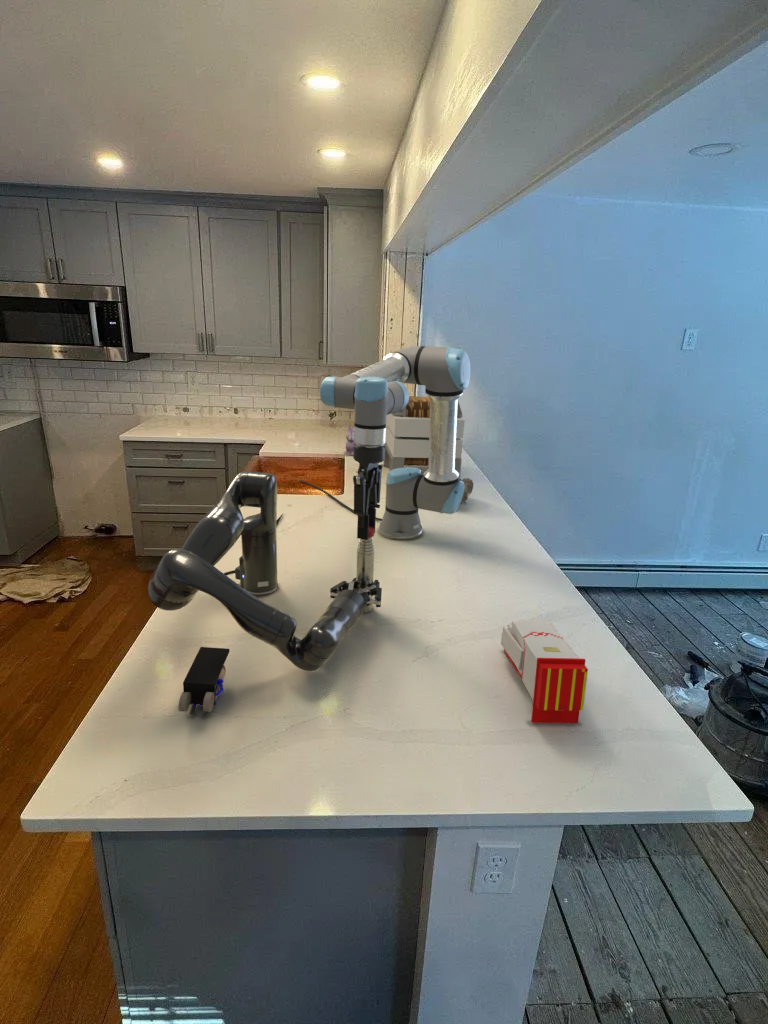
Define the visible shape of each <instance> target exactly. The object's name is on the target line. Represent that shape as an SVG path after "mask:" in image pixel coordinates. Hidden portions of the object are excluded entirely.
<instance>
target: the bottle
mask: <svg viewBox="0 0 768 1024" xmlns="http://www.w3.org/2000/svg"><path fill="white" fill-rule="evenodd" d="M372 538H373V537H371V538H368V540H364V539H359V541H358V545H357V549H356V574H355V575H356V577H355V578H356V589H358V590H362V589H364V588H366V587H370V586H371V585H372V584H373V582H374V569H375V568H374V567H375V547H374V546H375V545H374V542H373V539H372ZM371 599H373V597H372V598H371ZM372 610H373V604H370V605H369V606H368V607H366V608H365V610H364V612H363V613H370V612H371V611H372ZM363 613H362V614H363Z"/></svg>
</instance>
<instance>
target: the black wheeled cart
mask: <svg viewBox="0 0 768 1024" xmlns="http://www.w3.org/2000/svg"><path fill="white" fill-rule="evenodd" d="M229 653H230V648H226V647H210V646H208V647H207V646H200V647H199V650H198V651H197V654H196V656H195V657H194V660H193V662H192V664H191V665H190V667H189V670H188V671H187V673H186V676H185V677H184V680H183V682H182V687H183V689H182V690H183V691H182V693H181V694H180V696H179V700H178V711H179V712H182V713H183V712H185V713H187V712H188V711H189V709H190V711H189V715H190V717H193V716H194V715H195V712H196V709H197V706H201V707H202V711H203V712H204V716H205V717H207V716H209V714H210V713H211V712H212V710H213V709H214V707H215V706H216V705H217V701H216V700H217V699H218V697H219V696H220V695H221V694H222V692H224V678H225V676H226V666H225V663H226V660H227V658H228V656H229ZM217 685H218V687H219V689H218V690H217V689H216V687H217ZM216 690H217V691H216ZM190 706H191V708H190Z"/></svg>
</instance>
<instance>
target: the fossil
mask: <svg viewBox="0 0 768 1024" xmlns="http://www.w3.org/2000/svg"><path fill="white" fill-rule="evenodd" d="M460 480H461V481H463V482H464V493H463V497H462V500H461V503H460V505H459V507H458V508H460V507H461V506H462V505H463V504H467V502H466V501H467V500H469V497H470V495H471V494H472V493H473V490H474V482H473V480H472V479H470V478H469V477H467V478H460V479H459V481H460Z"/></svg>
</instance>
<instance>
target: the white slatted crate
mask: <svg viewBox="0 0 768 1024" xmlns="http://www.w3.org/2000/svg"><path fill="white" fill-rule="evenodd" d="M429 423H430V398H429V396H415V395H414V396H413V395H412V396H411V395H409V401H408V404H407V405H406V407H405V408H403V409H402V410H400V411H398V412H396V413H391V414H388V415H387V416H386V442H385V444H383V445H384V446H385V459H384V461H383V462H382V463H383V464H382V465H383V467H388V468H389V472H390V471H391V470H393V469H397V468H404V467H405V466H406V467H417V466H418V467H428V466H429ZM464 429H465V419H464V418H463V411H462V408H461V405H460V402H459V401H458V404H457V426H456V448H455V470H456V471H457V472H458V473H459V479H461V472H462V461H463V460H462V453H463V442H464V441H463V440H462V439H463V438H464V431H465V430H464Z"/></svg>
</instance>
